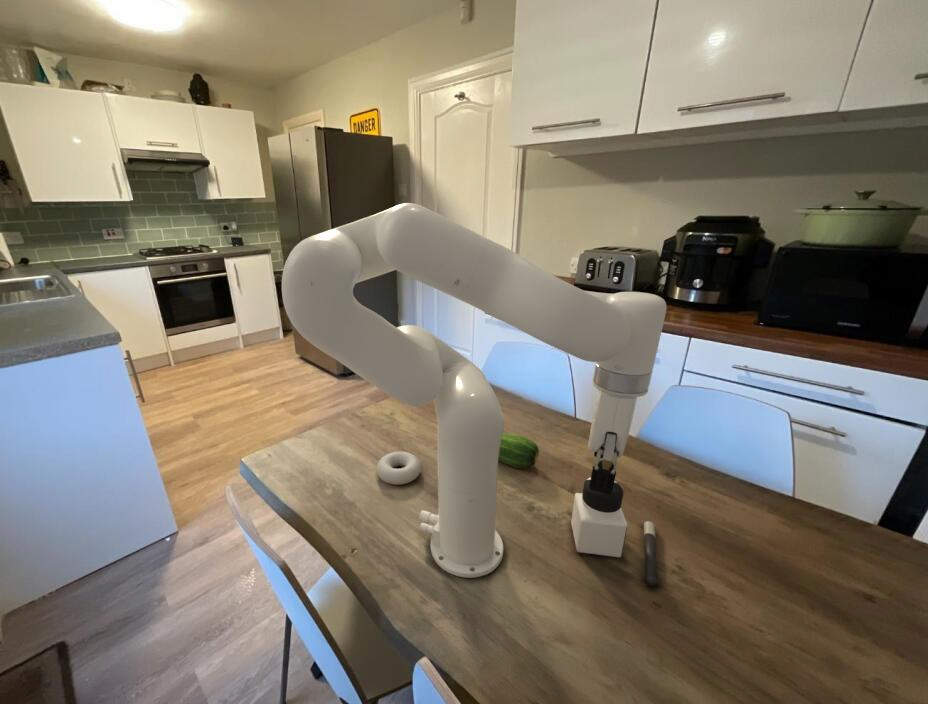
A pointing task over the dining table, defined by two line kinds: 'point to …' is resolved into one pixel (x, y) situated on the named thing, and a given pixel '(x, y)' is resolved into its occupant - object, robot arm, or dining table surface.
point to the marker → (650, 554)
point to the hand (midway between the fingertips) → (602, 473)
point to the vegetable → (518, 451)
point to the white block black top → (599, 521)
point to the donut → (398, 475)
